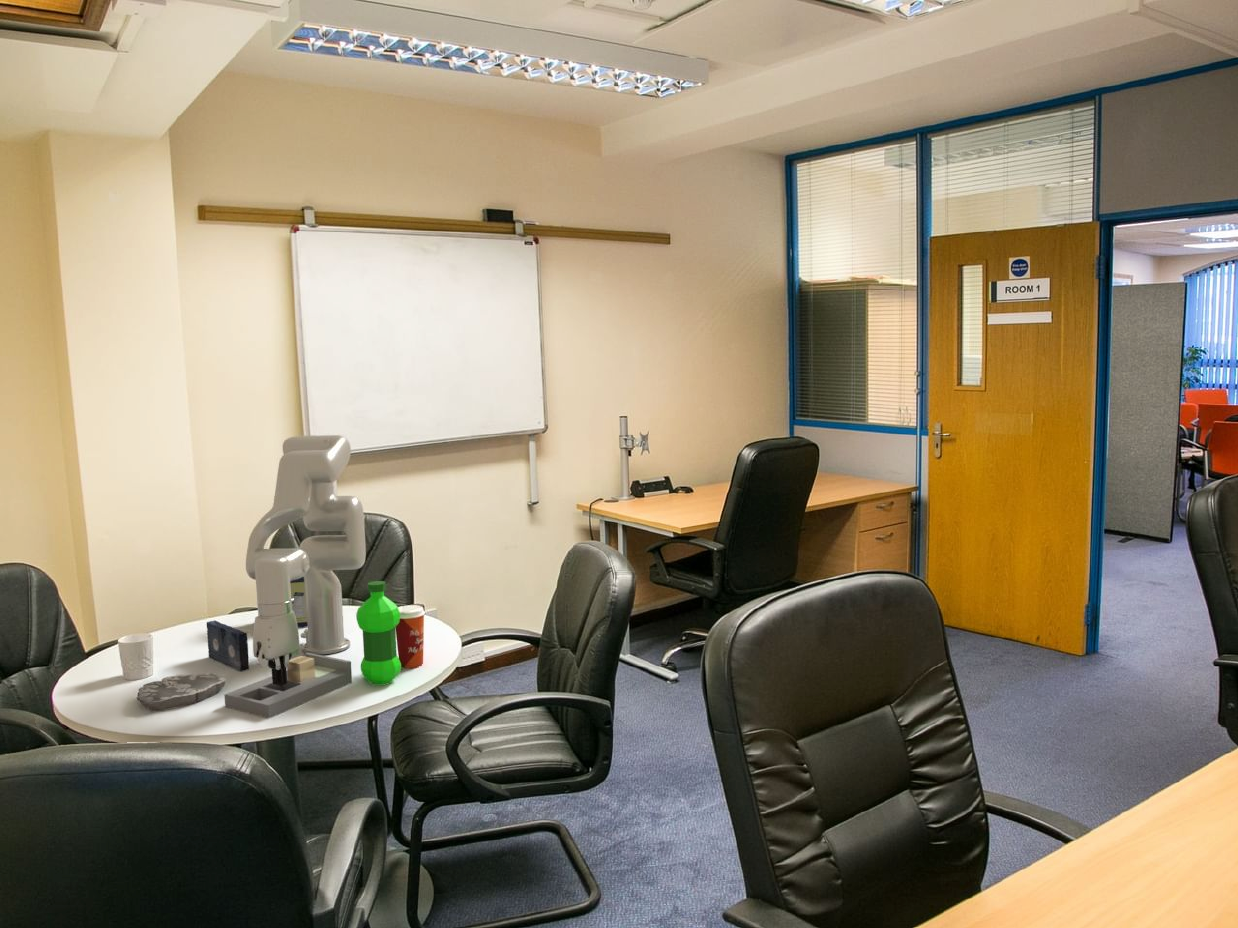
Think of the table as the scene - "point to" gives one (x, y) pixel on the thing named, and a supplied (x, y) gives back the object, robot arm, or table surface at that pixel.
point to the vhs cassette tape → (227, 645)
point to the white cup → (136, 656)
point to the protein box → (299, 601)
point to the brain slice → (179, 690)
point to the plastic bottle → (379, 635)
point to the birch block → (301, 668)
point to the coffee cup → (410, 636)
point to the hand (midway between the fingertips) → (280, 683)
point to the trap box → (291, 689)
